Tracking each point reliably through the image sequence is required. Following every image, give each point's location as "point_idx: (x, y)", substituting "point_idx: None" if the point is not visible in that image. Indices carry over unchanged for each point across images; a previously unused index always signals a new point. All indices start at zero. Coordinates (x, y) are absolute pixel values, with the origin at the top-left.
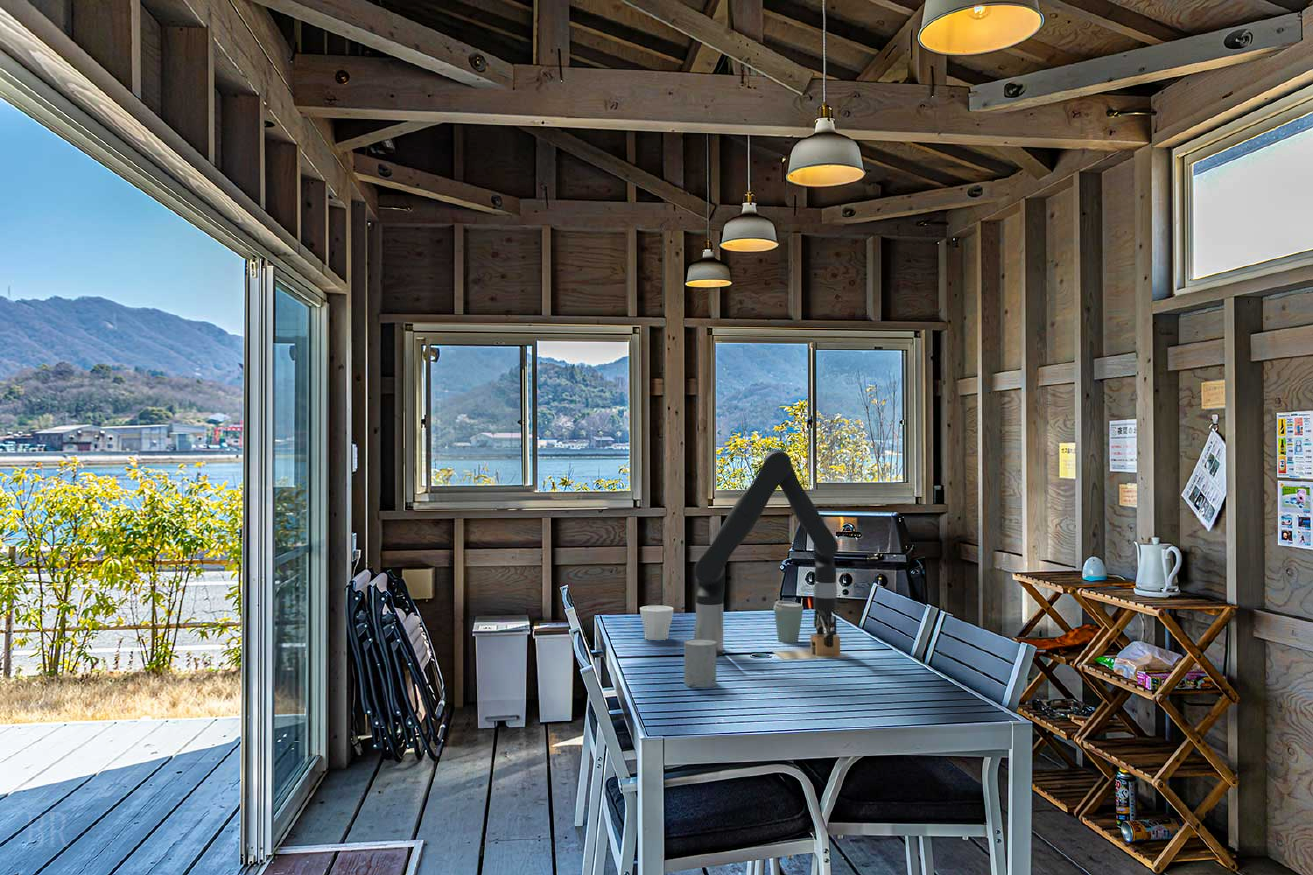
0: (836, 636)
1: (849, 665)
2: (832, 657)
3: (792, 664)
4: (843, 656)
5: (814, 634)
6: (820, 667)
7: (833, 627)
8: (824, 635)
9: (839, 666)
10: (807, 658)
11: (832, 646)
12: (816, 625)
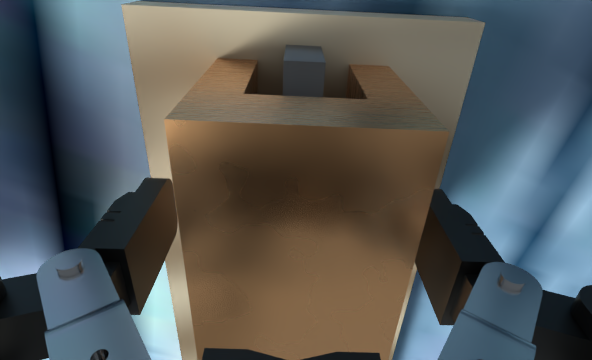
0: (404, 168)
1: (587, 66)
2: (442, 162)
3: (397, 350)
4: (449, 57)
5: (223, 338)
6: (524, 263)
7: (531, 352)
8: (297, 274)
9: (568, 152)
10: (404, 309)
11: (438, 192)
12: (21, 355)
